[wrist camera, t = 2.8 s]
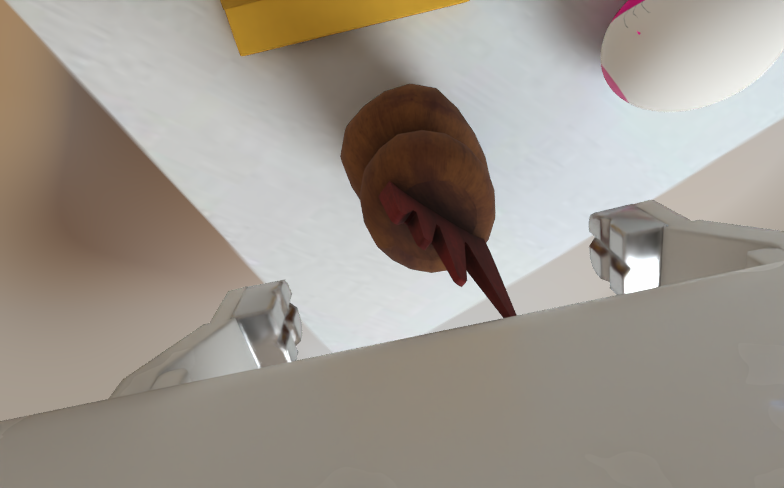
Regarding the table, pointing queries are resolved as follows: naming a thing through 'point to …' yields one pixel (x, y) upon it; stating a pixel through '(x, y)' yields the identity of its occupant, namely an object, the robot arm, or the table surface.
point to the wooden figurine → (425, 186)
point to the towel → (312, 18)
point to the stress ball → (690, 50)
